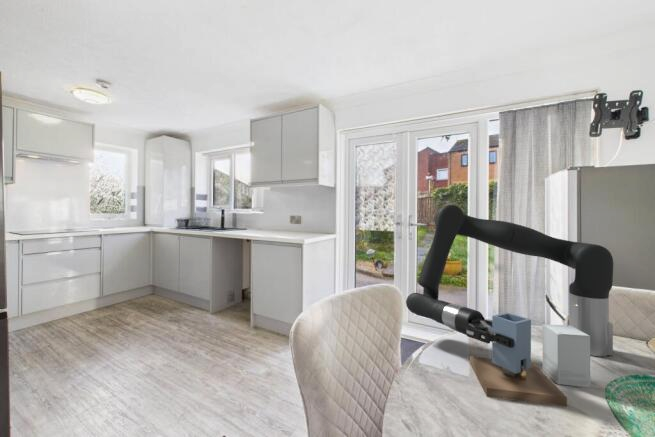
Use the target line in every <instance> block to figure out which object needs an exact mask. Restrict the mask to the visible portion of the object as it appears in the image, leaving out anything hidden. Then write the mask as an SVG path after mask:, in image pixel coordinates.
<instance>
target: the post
mask: <svg viewBox="0 0 655 437" xmlns="http://www.w3.org/2000/svg"><path fill="white" fill-rule="evenodd" d="M502 373H504V374H506V375H508V376H510V377H512V378H514V379H515V378H517V377H520V379H521V380H524V381H525V380H526V371H525V370H522V360H521V372H519V373H517V374H516V373H514V372H511V371H509V370H507V369H505V368H503V367H502Z"/></svg>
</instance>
